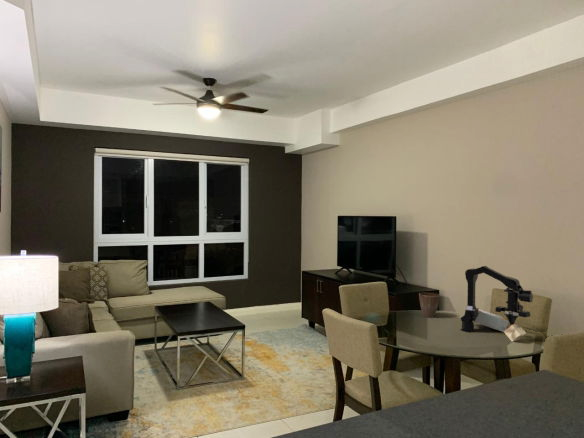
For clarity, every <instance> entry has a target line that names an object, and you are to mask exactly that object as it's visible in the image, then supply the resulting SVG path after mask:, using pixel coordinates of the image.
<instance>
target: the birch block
mask: <svg viewBox="0 0 584 438" xmlns="http://www.w3.org/2000/svg"><path fill="white" fill-rule="evenodd" d="M503 333H504V334H505V335H506V337H507V338H508V339H509V340H510V341H511V342H516V341H520V339H522V337H524V336H525V335H527V332H526V331H525V329H524V328H522V326H521V325H520V324H519V323H514V324H513V325H510V326H509V327H507V329H506V330H505V331H504V332H503Z"/></svg>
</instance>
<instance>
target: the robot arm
mask: <svg viewBox="0 0 584 438" xmlns="http://www.w3.org/2000/svg"><path fill="white" fill-rule="evenodd" d="M481 274H484V275H487V276H488V277H491V278H493V279H495V280H497V281H499V282H501V283H502V284H503V285H504V286H505V287H506V288H505V289H504V290H503V292H506V293H507V298H506V299H507V301H505V303H506V305H507V306H506V307H505V306H502V305H501V306H495V310H494V311H495V312H496V313H501V312H504V315H505V317H506V318H507V321H509V323H508V324H509V325H510V326H511V325H513V324H516V320H517V319H518V318H519V317H521V318H529V317H531V312H530V311H528V310H524V306H523V305H522V304H520V302H525V303H532V302H533V299H534V295H533V292H532V290H526V289H524V288H523V287H522V285H521V284H520V280H519V279H517V278H514V277H512V276H508V275H507V276H506V275H505V274H503V273H501V272H498V271H496V270H495V269H492V268H490V267H488V266H487V265H483V266H480V267H476V268H468V269H466V270H465V273H464V275H465V279H466V283H467V298H466V299H467V306H466V307H465V310H464V314H463V316H461V317H460V321H461V328H460V330H459V331H462V332H463V331H464V332H466V333H472V332H475V322H474V320H475V318H476V317H477V316H478V315H479V313H478V310H479V309H480V308H478V307H477V306H476V282H477V281H478V277H479V275H481Z"/></svg>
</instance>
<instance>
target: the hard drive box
mask: <svg viewBox="0 0 584 438" xmlns="http://www.w3.org/2000/svg"><path fill="white" fill-rule="evenodd" d="M478 313H479V315H478V316H477V317H476V318H475V320H474V321H473V322H474V323H476V324H479V325H481V326H482V325H483V326H486V327H487V328H491V329H493V330H497V331H500V332H503V333H504V331H505V330H506V329H507V328H508V326H509V324H510V323H509V320H508V319H505V318H504V317H503V316H501V315H498V314H494V313H492V312H489V311H486V310H482V309H480V308H479V310H478Z"/></svg>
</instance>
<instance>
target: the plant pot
mask: <svg viewBox="0 0 584 438" xmlns="http://www.w3.org/2000/svg"><path fill="white" fill-rule="evenodd" d="M418 298H419V305H420V310H421V313H422V316H423V317H424V318H431V319H432V318H433V319H434V317H435V316H436V313H437V311H438V308H439V304H440V300H441V294H439V293H435V292H434V293H433V292H419V293H418Z"/></svg>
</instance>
